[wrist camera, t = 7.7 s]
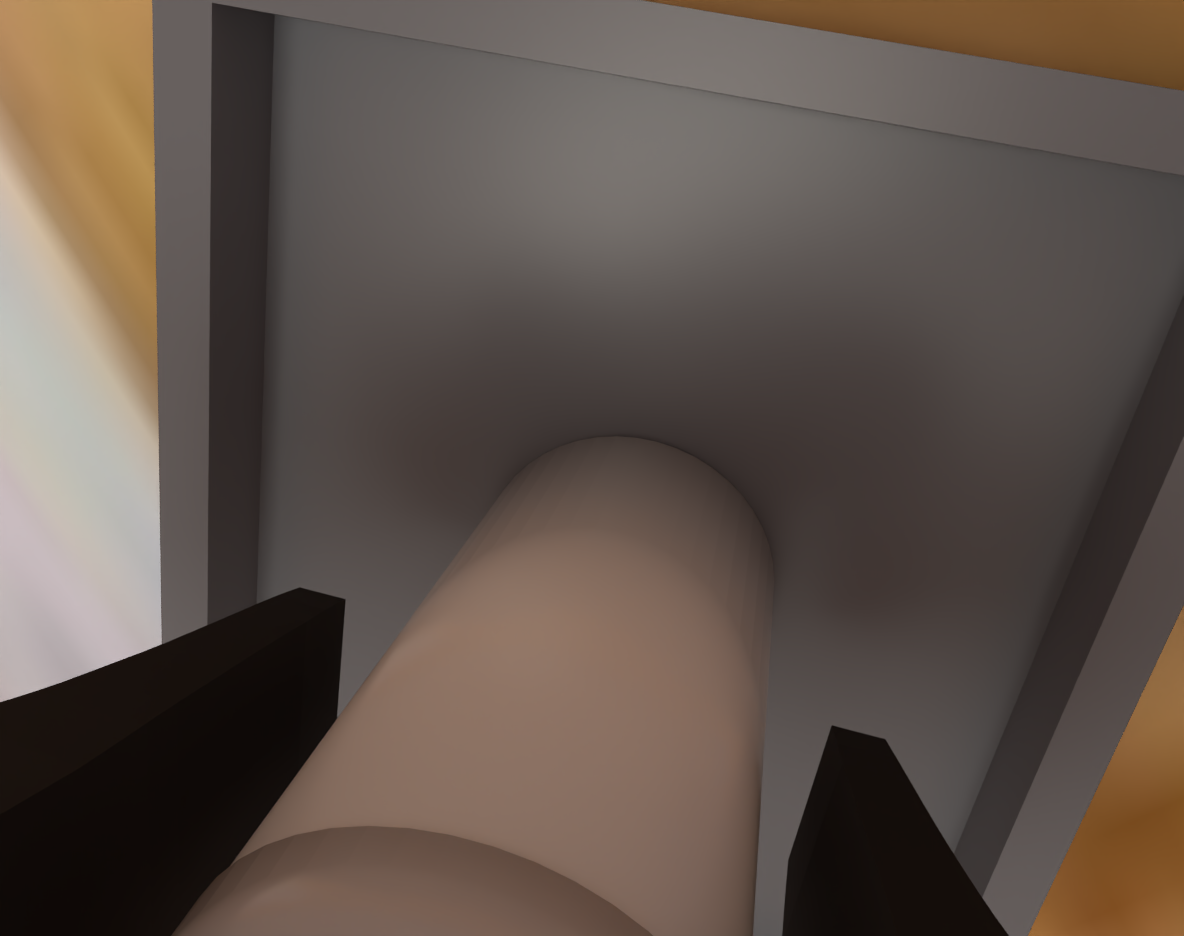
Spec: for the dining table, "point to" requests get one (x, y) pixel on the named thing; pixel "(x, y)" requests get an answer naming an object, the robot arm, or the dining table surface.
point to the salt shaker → (544, 728)
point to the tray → (696, 355)
